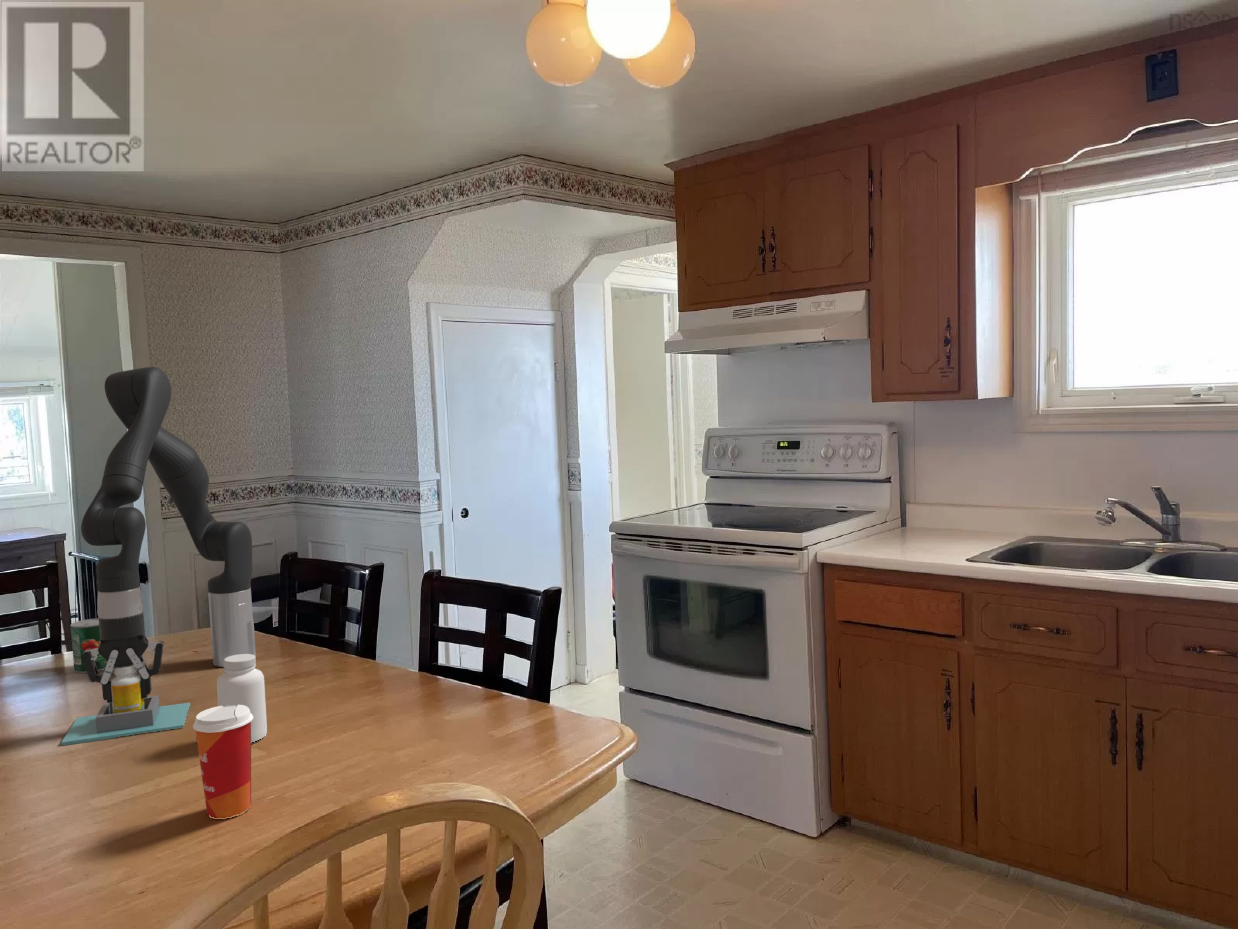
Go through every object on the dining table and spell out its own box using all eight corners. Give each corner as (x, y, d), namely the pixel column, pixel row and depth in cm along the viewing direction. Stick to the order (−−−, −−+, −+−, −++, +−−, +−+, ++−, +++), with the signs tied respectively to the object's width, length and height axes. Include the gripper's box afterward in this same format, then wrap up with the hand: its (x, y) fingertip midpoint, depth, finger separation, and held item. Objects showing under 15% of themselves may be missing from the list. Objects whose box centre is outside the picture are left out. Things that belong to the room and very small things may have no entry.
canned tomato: (90, 663, 218) (86, 618, 218) (120, 663, 217) (116, 618, 216) (65, 673, 211) (62, 626, 210) (96, 673, 209) (93, 626, 209)
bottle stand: (190, 705, 185) (188, 688, 184) (183, 728, 172) (182, 709, 171) (77, 720, 178) (76, 702, 178) (61, 745, 165) (59, 726, 164)
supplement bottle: (110, 714, 175) (106, 665, 174) (141, 707, 178) (137, 659, 178) (116, 721, 171) (112, 671, 170) (147, 714, 174) (144, 665, 174)
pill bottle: (277, 733, 167) (272, 653, 166) (242, 749, 160) (237, 666, 159) (245, 728, 170) (240, 649, 169) (210, 744, 163) (204, 661, 162)
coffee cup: (210, 800, 140) (204, 704, 138) (266, 796, 140) (259, 701, 139) (189, 826, 131) (182, 724, 130) (248, 822, 132) (242, 721, 131)
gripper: (165, 604, 179) (171, 688, 180) (81, 612, 174) (89, 699, 176) (160, 612, 172) (167, 699, 173) (73, 621, 167) (81, 711, 168)
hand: (127, 698), depth 174 cm, fingers closed on supplement bottle, 5 cm apart
